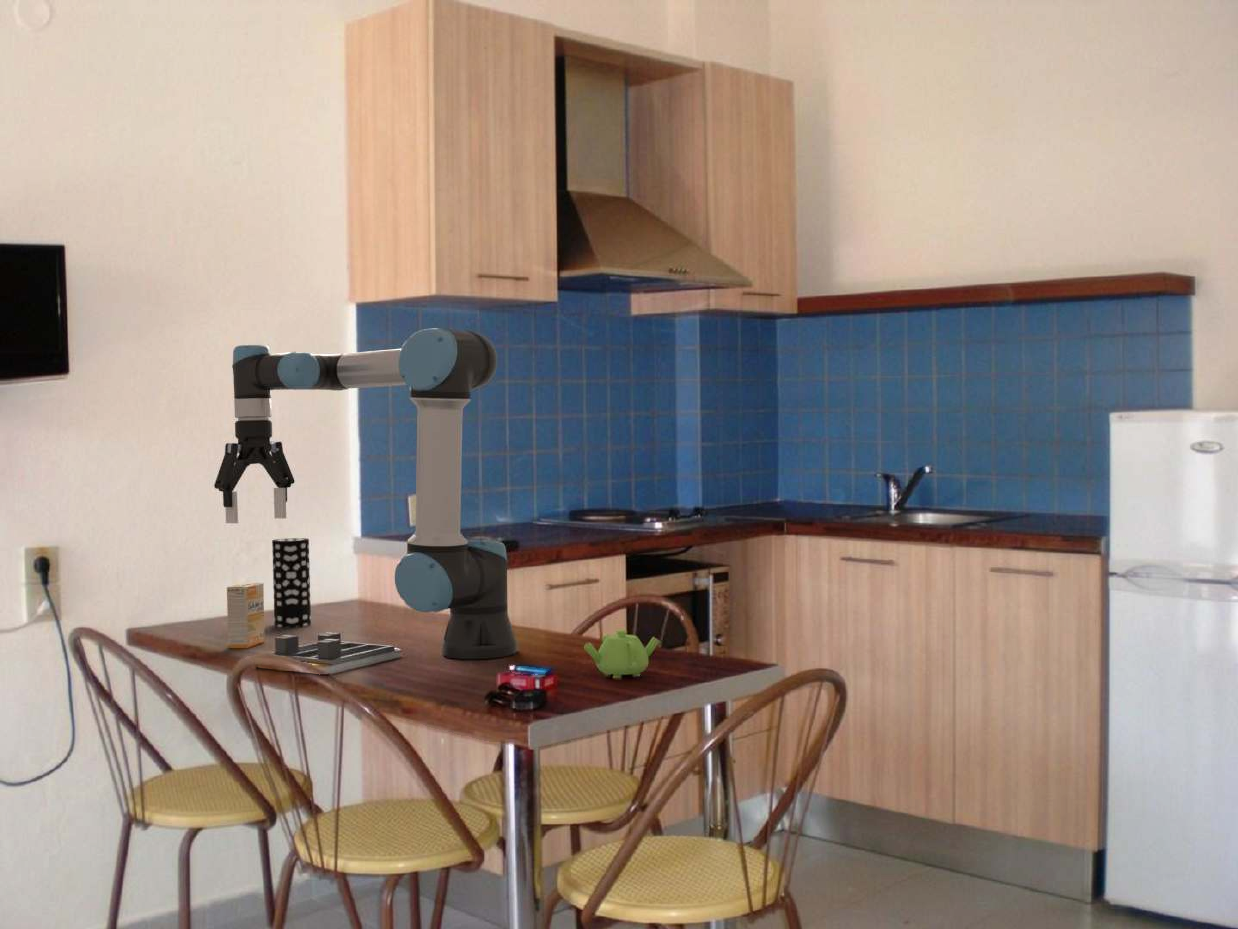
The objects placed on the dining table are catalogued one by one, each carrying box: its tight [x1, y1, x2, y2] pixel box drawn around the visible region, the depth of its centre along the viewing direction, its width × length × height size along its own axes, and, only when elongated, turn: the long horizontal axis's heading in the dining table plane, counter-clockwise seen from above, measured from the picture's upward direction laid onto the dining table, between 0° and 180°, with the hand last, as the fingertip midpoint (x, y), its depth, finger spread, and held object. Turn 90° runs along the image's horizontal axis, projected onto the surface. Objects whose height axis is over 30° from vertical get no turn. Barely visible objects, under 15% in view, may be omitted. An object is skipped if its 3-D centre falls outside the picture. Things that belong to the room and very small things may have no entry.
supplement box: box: [226, 582, 265, 649], centre depth 294 cm, size 8×5×13 cm, turn 168°
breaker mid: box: [317, 631, 342, 641], centre depth 272 cm, size 3×4×4 cm
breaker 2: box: [316, 639, 342, 660], centre depth 264 cm, size 3×4×4 cm
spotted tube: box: [271, 537, 312, 629], centre depth 323 cm, size 8×8×20 cm
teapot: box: [583, 629, 661, 678], centre depth 252 cm, size 11×12×8 cm
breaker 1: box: [274, 634, 300, 655], centre depth 269 cm, size 3×4×4 cm
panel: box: [270, 641, 403, 675], centre depth 272 cm, size 18×22×2 cm
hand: (256, 520), depth 289 cm, fingers open, 13 cm apart
